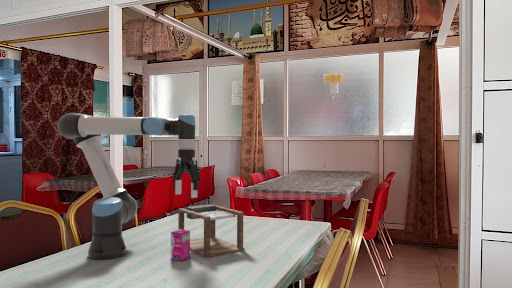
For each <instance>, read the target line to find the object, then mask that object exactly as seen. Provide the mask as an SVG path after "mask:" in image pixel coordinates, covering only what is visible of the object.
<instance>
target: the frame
mask: <svg viewBox="0 0 512 288" xmlns="http://www.w3.org/2000/svg"><path fill="white" fill-rule="evenodd" d="M214 205H215V204H214ZM215 206H216V210H220V211H224V212H227V213H231V214H235V215H236V244H234V243H231V242H229V241H226V240H223V239H222V238H221V239H220V238H219V237H218V238H217V237H216V220H210V216H207V215H204V214H200V213H197V212H193V211H190V210H187V208H180V207H179V208H178V210H177V211H178V212H177V213H178V215H177V216H178V218H177V219H178V226H177V228H178V229H182V230H185V214H186V215H187V214H189V215H192V216H195V217H198V218H199V219H201V218H202V219H201V220H203V237H201V238H195V239H190V251H191V252H194V253H196V254H199V255H201V256H202V257H204V258H213V257H218V256H222V255H227V254H231V253H237V252H242V251H245V250H246V249H245V247H244V211H241V210H240V211H239V210H236V209H234V208H233V209H231V208H228V207H224V206H220V205H215ZM178 229H177V230H178Z"/></svg>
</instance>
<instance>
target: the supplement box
mask: <svg viewBox="0 0 512 288" xmlns="http://www.w3.org/2000/svg"><path fill="white" fill-rule="evenodd" d="M190 240H191V231H190V230H189V229H184V230H182V229H176V230H173V231H171V232H170V260H172V261H173V260H174V261H177V262H183V261H186V260H188V259H190V258H191V250H190Z"/></svg>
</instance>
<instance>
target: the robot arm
mask: <svg viewBox="0 0 512 288" xmlns="http://www.w3.org/2000/svg"><path fill="white" fill-rule="evenodd" d="M196 127H197V124H196V116H195V115H193V114H185V113H184V114H179V115H178V117H177V118H164V117H158V116H147V117H146V116H137V117H136V116H131V117H130V116H94V115H90V114H86V113H77V112H67V113H65V114H62V116H60V117H59V119H58V121H57V131H58V133H59V134H60V136H62V137H63V138H66V139H68V140H73V141H74V144H75V146H76V148H79V149H81V151H82V152H83V154H84V155H83V156H84V157H85V160H86V161H87V163H88V166H89V167H90V170H91V172H92V175H93V177H94V179H95V180H96V183H97V185H98V187H99V189H100V191H101V194H102V196H103V197H102V198H100V199H96V200H95V201H94V202H93V204H92V209H91V212H92V238H91V242H90V244H89V246H88V247H89V248H88V251H87V257H88V259H93V260H111V259H116V258H121V257H122V256H125V255H126V254H127V246H126V243H125V240H124V238H123V231H122V230H123V224H125V223H128V222H130V221H131V220H132V219H133V218H134V217H135V216H136V214H137V212H138V203H137V201H136V199H135V198H133V197H132V196H130V194H129V193H128V191H127V189H125V188H123V187H122V186H121V183H120V181H119V179H118V177H117V175H116V172H115V170H114V168H113V166H112V164H111V162H110V160H109V158H108V155H107V153H106V152H105V149H104V147H103V145H102V142H101V140H102V138H103V135H105V136H106V135H107V136H108V135H110V136H111V135H112V136H113V135H115V136H116V135H117V136H119V135H121V136H122V135H123V136H126V135H127V136H131V135H133V136H134V135H135V136H138V135H139V136H141V135H142V136H175V137H178V138H177V140H178V141H177V145H178V146H177V148H178V150H177V157H178V158H177V159H175V160H176V161H175V167H174V170H173V175H172V179H174V180H175V182H174V183H175V184H174V185H175V193H174V194H175V195H182V177H183V175H184V173H185V171H187V172H188V175H189V177H190V180H191V182H190V183H191V184H190V189H191V190H190V198H191V199H195V198H198V189H199V188H198V185H199V182H201V181H202V179H201V176H200V175H201V174H200V171H199V167H198V160H196V159H194V158H195V157H196V149H195V148H196Z"/></svg>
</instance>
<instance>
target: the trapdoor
mask: <svg viewBox="0 0 512 288" xmlns="http://www.w3.org/2000/svg"><path fill="white" fill-rule="evenodd" d="M186 209H187V210H190V211H193V212H197V213H200V214H204V215H207V216H210V220H215V221H216V220H222V219H230V218H237V215H236V214H233V213H229V212H225V211H221V210H217V209H216V206H215V204H211V203H210V204H203V205H192V206H186ZM186 219H189V220H199V219H201V220H203V219H202V218H198V217H195V216H192V215H189V214H186Z"/></svg>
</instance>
